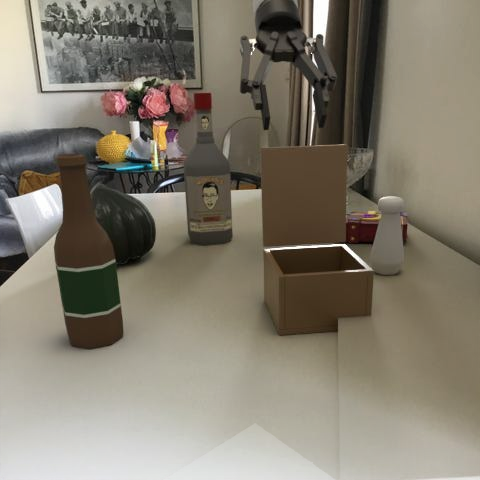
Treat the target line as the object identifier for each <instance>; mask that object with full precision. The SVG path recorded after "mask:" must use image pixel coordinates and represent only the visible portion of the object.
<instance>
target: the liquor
mask: <svg viewBox="0 0 480 480" xmlns="http://www.w3.org/2000/svg"><path fill="white" fill-rule="evenodd" d="M213 108H214V107H213V92H193V109H194V110H195V117H196V139H195V144H194V145H193V147H192V148H191V150H190V151H189V153H188V154H187V155H186V157H185V158H184V160H183V161H184V162H183V177H184V178H183V179H184V192H185V193H184V194H185V195H184V196H185V206H186V210H185V211H186V224H187V235H188V238H189V240H190V242H191V244H192V245H198V246H210V245H211V246H212V245H224V244H226V243H229V242H231V241H232V239H233V237H234V235H233V212H232V211H233V210H232V184H231V183H232V181H231V164H230V162H229V159H228V158H227V157H226V155H225V154H224V153H223V152H222V150H220V148H219V146H217V145H216V143H215V138H214V131H213V115H212V110H213Z"/></svg>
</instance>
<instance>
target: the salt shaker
mask: <svg viewBox="0 0 480 480" xmlns="http://www.w3.org/2000/svg"><path fill="white" fill-rule="evenodd" d="M377 210H378V212H379V213H382V214H381V218H380V221H379V225H378V229H377V233H376V236H375V240H374V242H373V245H372V248H371V252H370V256H369V260H370V263H371V265H372V269H373V270H374V274H375V273H376V274H380V275H382V276H394V275H397V274H398V273H399V272H400V270H401V268H402V266H403V265H404V262H405V250H404V243H403V239H402V228H401V218H400V212H404V210H405V200H404V199H403V198H402V197H399V196H394V195H390V196H389V195H388V196H387V195H386V196H383V197H381V198H380V199H379V200H378V202H377Z"/></svg>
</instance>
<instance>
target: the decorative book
mask: <svg viewBox="0 0 480 480" xmlns="http://www.w3.org/2000/svg"><path fill="white" fill-rule="evenodd" d="M381 214H382V212H377V211H376V210H368V211H367V212H364V211H354V210H353V211H352V210H351V211H350V210H346V242H347V244H358V243H359V242H367V243H368V242H369V243H374V240H375V236H376V233H377V229H378V225H379V221H380V218H381ZM400 218H401V228H402V239H403V244H406V243H407V237H408V236H407V235H408V225H409V223H408V212H407V211H402V212H400Z"/></svg>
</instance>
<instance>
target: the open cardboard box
mask: <svg viewBox="0 0 480 480" xmlns="http://www.w3.org/2000/svg"><path fill="white" fill-rule="evenodd" d="M262 254H263V259H262V260H263V301H264V304H265V306H266V308H267V310H268V313H269V315H270V317H271V320H272V322H273V324H274V327H275V329H276V332H277V334H278V336H289V335H290V336H291V335H302V334H319V333H329V332H330V333H331V332H339V319H345V318H357V317H358V318H359V317H371V316H372V311H373V310H372V308H373V294H374V293H373V292H374V277H375V271H374V268H373V267H371V266H370V265H369V264H368V263H366V262H365V261H364V260H363V259H362V258H361V257H360V256H359V255H358V254H356V253H355V252H354V251H353V250H352V249H351V248H350V247H349V246H347V245H346V244H345V243H344V244H341V243H340V244H327V245H326V244H325V245H324V244H323V245H308V246H293V247H292V246H290V247H276V248H275V247H273V248H263V253H262Z"/></svg>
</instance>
